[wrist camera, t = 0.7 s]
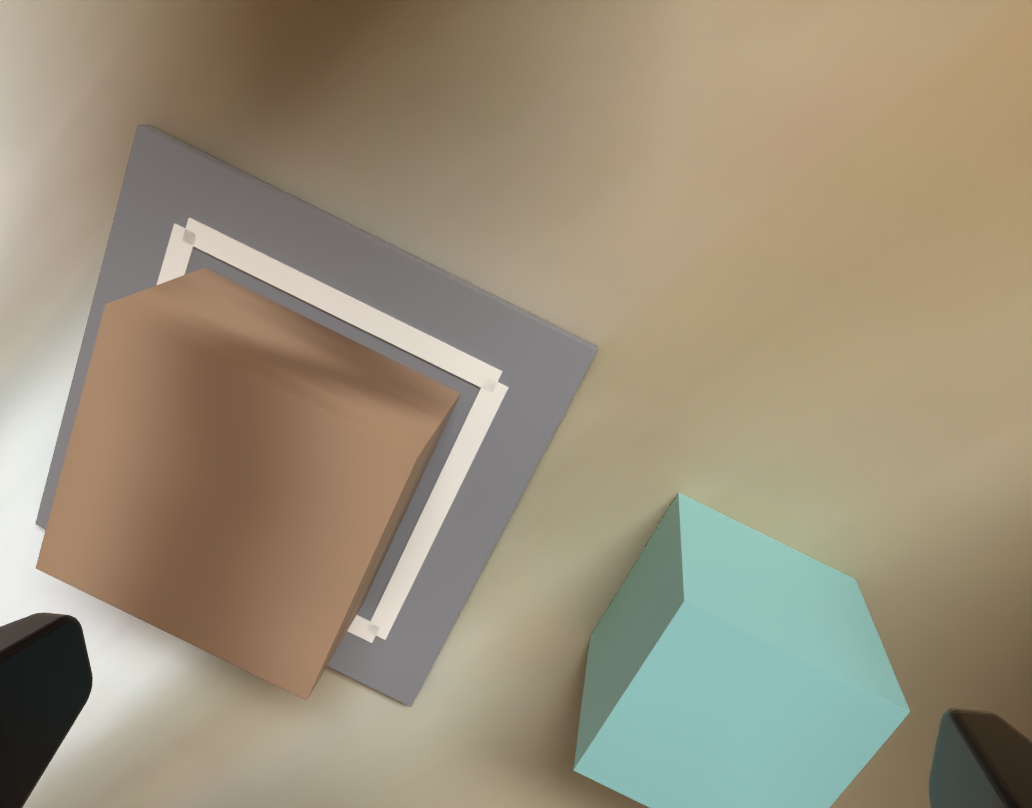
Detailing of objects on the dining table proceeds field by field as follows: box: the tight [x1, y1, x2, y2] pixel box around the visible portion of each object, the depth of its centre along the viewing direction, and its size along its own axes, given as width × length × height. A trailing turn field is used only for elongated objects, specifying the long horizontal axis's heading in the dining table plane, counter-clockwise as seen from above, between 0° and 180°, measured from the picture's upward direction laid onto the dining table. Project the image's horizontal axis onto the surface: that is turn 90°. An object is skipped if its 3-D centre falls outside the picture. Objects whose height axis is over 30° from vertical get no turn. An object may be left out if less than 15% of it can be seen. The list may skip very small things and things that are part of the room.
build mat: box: [36, 125, 598, 707], centre depth 22 cm, size 12×12×1 cm
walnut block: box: [36, 268, 460, 700], centre depth 20 cm, size 7×7×4 cm
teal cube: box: [573, 493, 910, 808], centre depth 20 cm, size 5×5×5 cm
